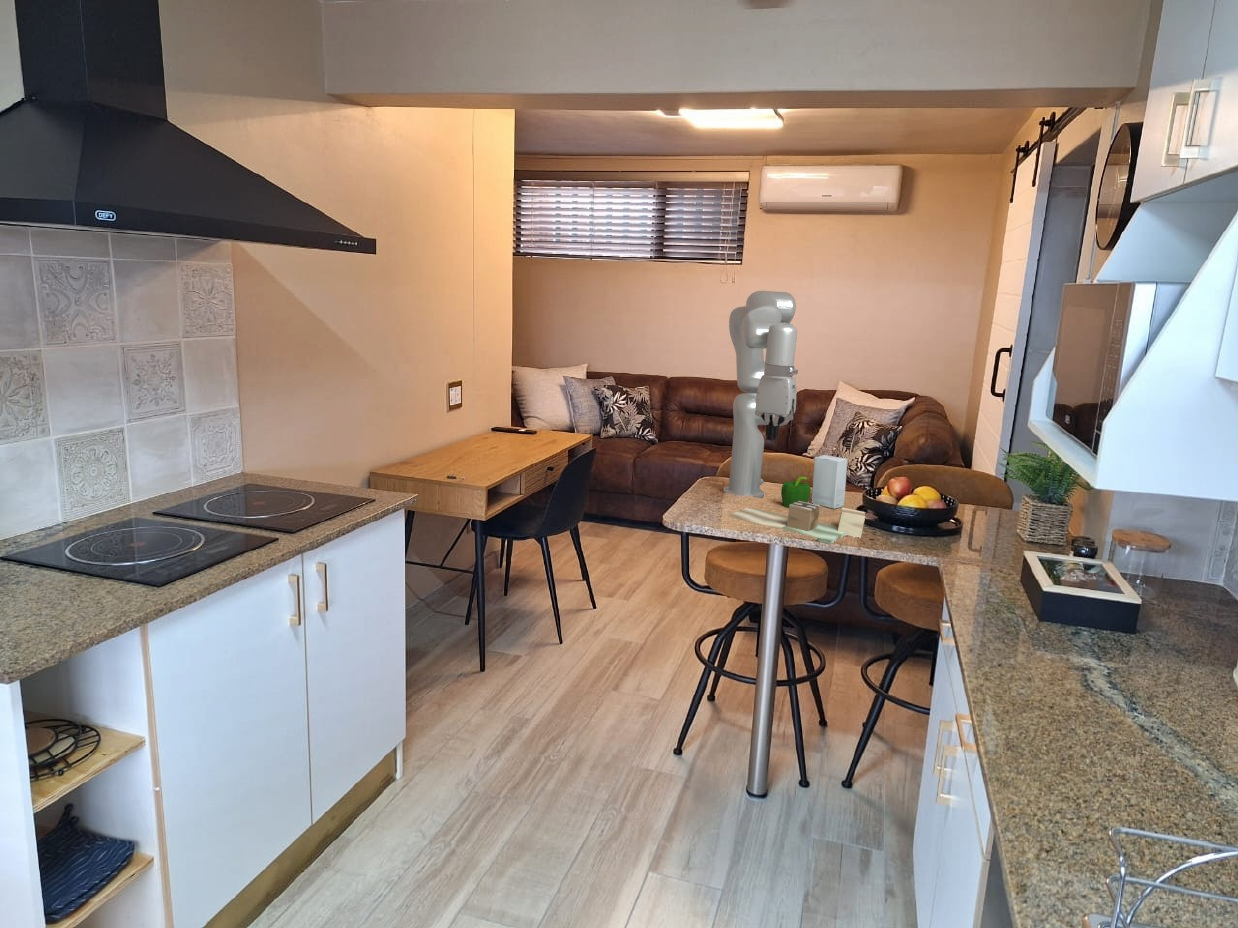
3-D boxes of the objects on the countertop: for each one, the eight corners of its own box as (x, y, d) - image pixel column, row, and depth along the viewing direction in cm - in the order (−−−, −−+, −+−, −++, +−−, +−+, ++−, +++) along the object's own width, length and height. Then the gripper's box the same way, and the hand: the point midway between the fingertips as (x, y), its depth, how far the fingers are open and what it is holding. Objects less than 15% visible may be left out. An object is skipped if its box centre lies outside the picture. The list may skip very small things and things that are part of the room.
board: (748, 510, 235) (748, 506, 235) (849, 533, 218) (850, 529, 218) (725, 519, 224) (726, 516, 224) (830, 544, 207) (830, 540, 207)
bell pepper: (775, 509, 238) (779, 476, 236) (784, 504, 245) (787, 471, 243) (804, 515, 234) (808, 481, 232) (811, 509, 241) (815, 476, 239)
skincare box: (844, 506, 246) (850, 458, 243) (833, 509, 242) (839, 460, 239) (820, 500, 252) (825, 453, 249) (809, 503, 248) (814, 455, 245)
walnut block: (819, 505, 217) (817, 527, 218) (798, 500, 221) (796, 522, 222) (810, 509, 212) (808, 531, 214) (789, 504, 216) (787, 526, 217)
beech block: (837, 528, 222) (842, 507, 220) (860, 533, 220) (864, 512, 219) (837, 534, 216) (841, 512, 215) (860, 539, 214) (865, 517, 213)
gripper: (810, 374, 215) (802, 442, 219) (758, 368, 223) (752, 433, 227) (799, 375, 209) (791, 445, 213) (746, 369, 217) (740, 436, 221)
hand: (771, 439), depth 220 cm, fingers closed
